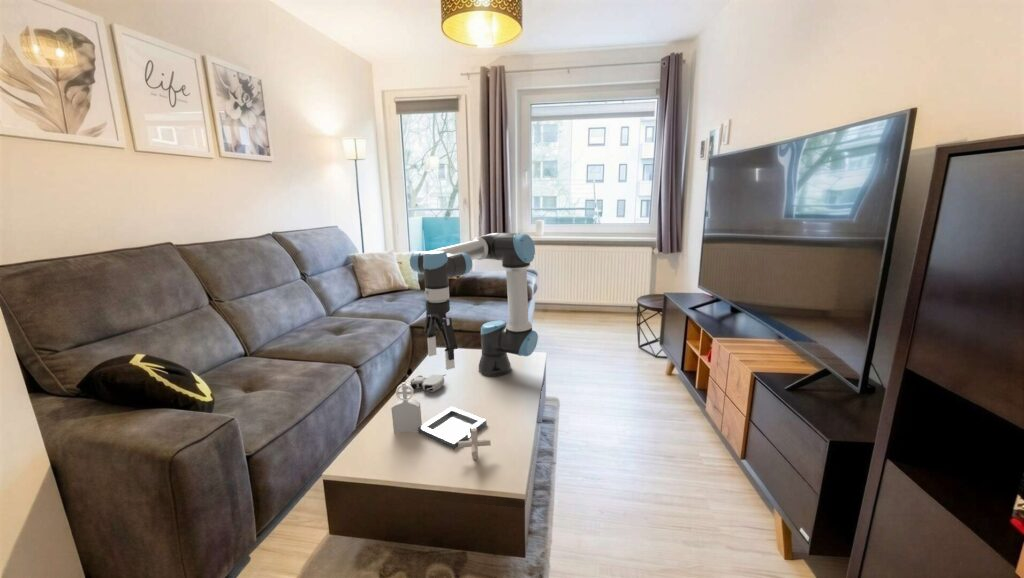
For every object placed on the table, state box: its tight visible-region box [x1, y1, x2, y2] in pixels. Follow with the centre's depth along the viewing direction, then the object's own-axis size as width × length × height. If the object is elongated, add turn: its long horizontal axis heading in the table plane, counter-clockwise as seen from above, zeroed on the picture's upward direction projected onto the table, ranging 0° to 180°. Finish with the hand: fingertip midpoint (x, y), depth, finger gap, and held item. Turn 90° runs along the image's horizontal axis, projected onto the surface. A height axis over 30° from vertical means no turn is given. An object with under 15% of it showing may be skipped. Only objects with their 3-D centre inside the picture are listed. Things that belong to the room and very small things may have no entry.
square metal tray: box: [417, 406, 487, 450], centre depth 144 cm, size 17×17×2 cm
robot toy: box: [406, 374, 447, 393], centre depth 175 cm, size 12×4×15 cm
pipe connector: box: [457, 428, 492, 460], centre depth 127 cm, size 10×10×10 cm
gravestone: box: [391, 381, 423, 433], centre depth 142 cm, size 3×9×18 cm, turn 92°
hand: (441, 361), depth 135 cm, fingers open, 13 cm apart
